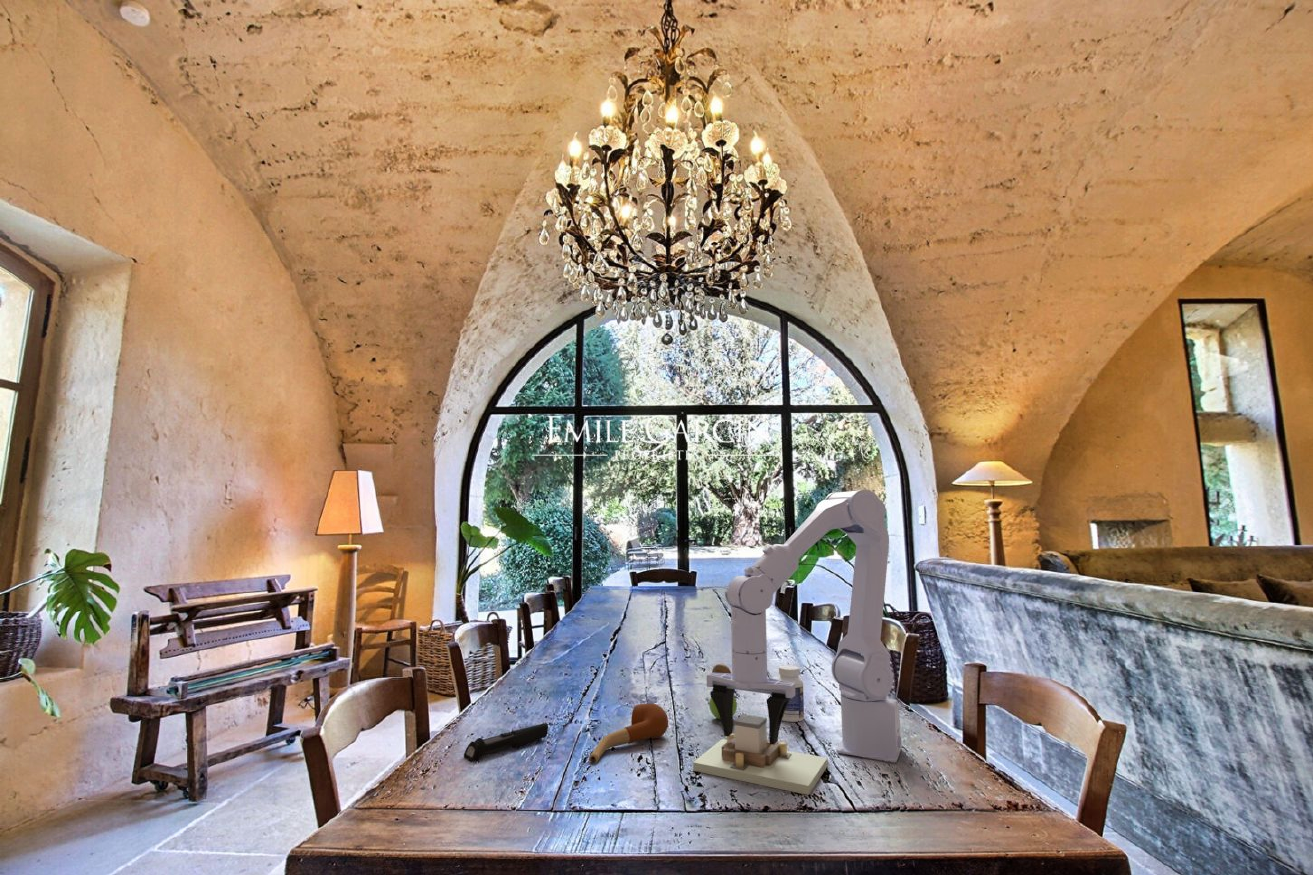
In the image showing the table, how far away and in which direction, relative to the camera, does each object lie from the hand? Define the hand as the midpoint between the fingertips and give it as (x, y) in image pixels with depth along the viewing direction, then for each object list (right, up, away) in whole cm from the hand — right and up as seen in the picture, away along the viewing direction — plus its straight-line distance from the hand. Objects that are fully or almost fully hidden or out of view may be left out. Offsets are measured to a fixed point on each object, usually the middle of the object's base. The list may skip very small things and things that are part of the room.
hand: (750, 738), depth 97 cm
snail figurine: (-2, -7, +22) cm, 23 cm away
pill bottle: (+11, -8, +23) cm, 26 cm away
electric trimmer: (-41, -5, +6) cm, 41 cm away
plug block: (0, -3, 0) cm, 3 cm away
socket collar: (0, -3, 0) cm, 3 cm away
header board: (+1, -4, -2) cm, 4 cm away
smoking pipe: (-19, -5, +7) cm, 21 cm away
